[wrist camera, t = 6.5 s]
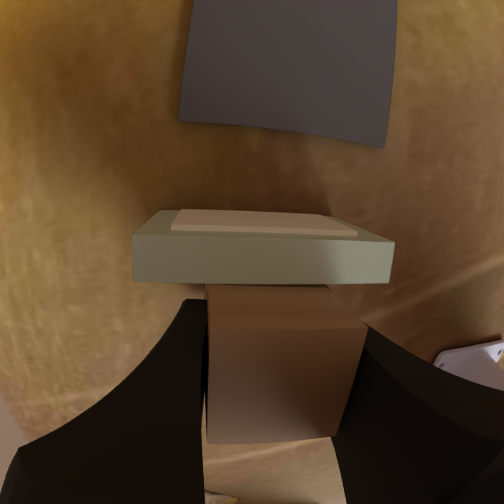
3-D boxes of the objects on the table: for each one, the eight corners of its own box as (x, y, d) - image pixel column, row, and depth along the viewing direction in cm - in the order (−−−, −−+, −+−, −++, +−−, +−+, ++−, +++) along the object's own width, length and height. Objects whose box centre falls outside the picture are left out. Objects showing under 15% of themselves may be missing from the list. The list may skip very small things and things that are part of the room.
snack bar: (241, 499, 22) (222, 516, 22) (235, 488, 24) (217, 506, 23) (144, 472, 19) (127, 491, 18) (142, 459, 20) (126, 479, 20)
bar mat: (378, 147, 12) (384, 148, 12) (179, 121, 11) (178, 121, 11) (391, -46, 9) (396, -50, 8) (214, -87, 7) (214, -93, 7)
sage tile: (329, 244, 14) (388, 283, 9) (160, 239, 13) (133, 281, 8) (332, 212, 13) (396, 237, 8) (160, 206, 12) (131, 228, 7)
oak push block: (278, 320, 14) (335, 435, 7) (203, 318, 13) (207, 443, 7) (288, 247, 13) (368, 327, 6) (207, 242, 13) (210, 327, 6)
